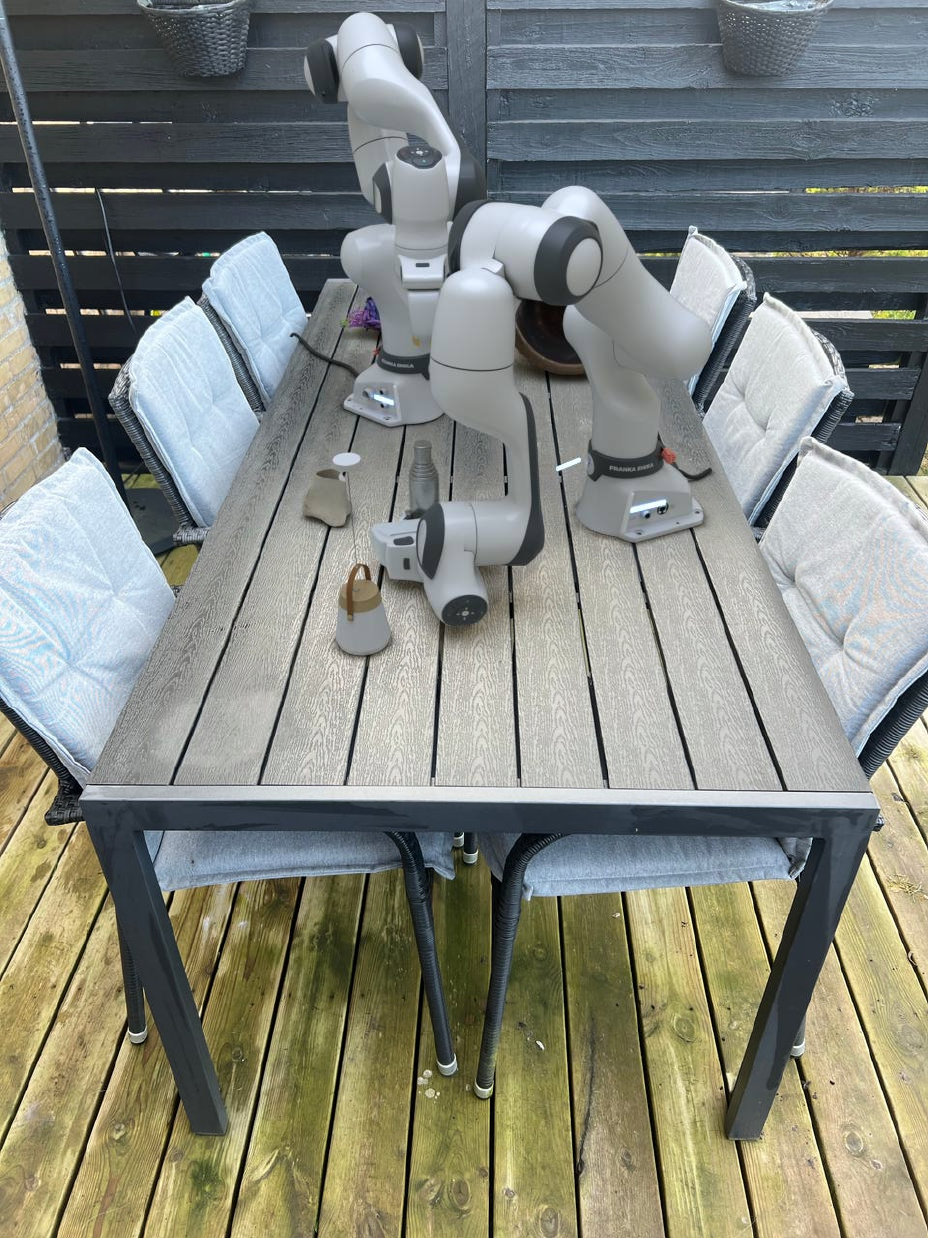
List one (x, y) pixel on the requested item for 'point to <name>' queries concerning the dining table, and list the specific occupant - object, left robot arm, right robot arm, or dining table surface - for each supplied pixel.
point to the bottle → (422, 480)
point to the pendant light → (359, 596)
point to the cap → (417, 341)
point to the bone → (327, 498)
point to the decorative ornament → (365, 318)
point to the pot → (545, 337)
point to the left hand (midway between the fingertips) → (424, 343)
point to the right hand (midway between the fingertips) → (423, 511)
